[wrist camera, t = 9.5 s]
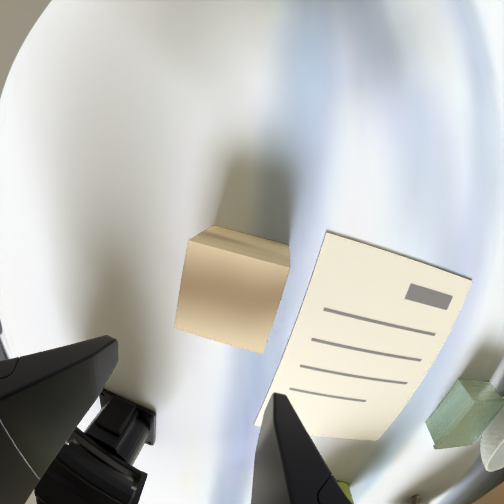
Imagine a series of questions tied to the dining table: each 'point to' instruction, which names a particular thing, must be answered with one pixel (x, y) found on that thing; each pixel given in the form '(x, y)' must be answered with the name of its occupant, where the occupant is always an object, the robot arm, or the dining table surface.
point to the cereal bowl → (493, 443)
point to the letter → (364, 338)
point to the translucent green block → (464, 413)
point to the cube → (232, 287)
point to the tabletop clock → (415, 499)
